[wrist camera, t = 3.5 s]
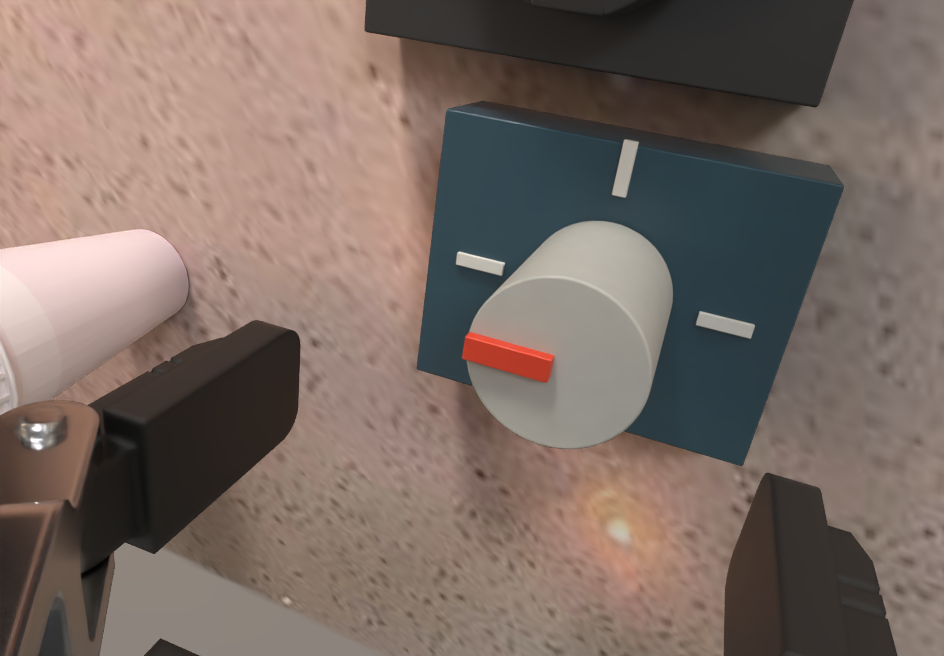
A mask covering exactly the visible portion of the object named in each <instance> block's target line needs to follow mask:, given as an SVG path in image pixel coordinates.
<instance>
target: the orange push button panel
mask: <svg viewBox="0 0 944 656" xmlns="http://www.w3.org/2000/svg"><path fill="white" fill-rule="evenodd" d="M853 1H854V0H366V15H365V31H366V32H369V33H375V34H381V35H387V36H393V37H399V38H405V39H411V40H417V41H423V42H429V43H434V44H440V45H446V46H452V47H458V48H464V49H470V50H476V51H482V52H488V53H494V54H500V55H506V56H512V57H518V58H524V59H530V60H536V61H542V62H548V63H554V64H560V65H566V66H572V67H578V68H583V69H589V70H595V71H601V72H607V73H613V74H619V75H625V76H631V77H637V78H643V79H649V80H655V81H661V82H667V83H673V84H679V85H685V86H691V87H697V88H703V89H709V90H715V91H721V92H727V93H733V94H738V95H744V96H750V97H756V98H762V99H768V100H774V101H780V102H786V103H792V104H798V105H804V106H810V107H818V106H819V104H820V101H821V98H822V95H823V92H824V89H825V85H826V82H827V79H828V76H829V73H830V70H831V67H832V64H833V61H834V58H835V55H836V52H837V49H838V46H839V43H840V40H841V37H842V34H843V31H844V28H845V25H846V22H847V19H848V16H849V13H850V10H851V7H852V4H853Z"/></svg>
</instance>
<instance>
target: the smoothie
mask: <svg viewBox="0 0 944 656" xmlns="http://www.w3.org/2000/svg"><path fill="white" fill-rule="evenodd" d="M188 291H189V282H188V276H187V272H186V268H185V266H184V263H183V261H182V259H181V258H180V256H179V254H178V253H177V251H176V250H175V249H174V248H173V246H172V245H171V244H170V243H169V242H168V241H167V240H165V239H164V238H163V237H161V236H160V235H158V234H156V233H154V232H152V231H149V230H144V229H135V230H128V231H121V232H115V233H108V234H101V235H94V236H88V237H81V238H74V239H68V240H61V241H54V242H47V243H41V244H34V245H27V246H20V247H14V248H7V249H0V415H2V414H3V413H5V412H7V411H9V410H12V409H14V408H16V407H20V406H23V405H26V404H30V403H34V402H41V401H49V400H52V399H53V398H55V397H56V396H57V395H59V394H60V393H62V392H63V391H65V390H66V389H67V388H69V387H70V386H72V385H73V384H75V383H76V382H78V381H79V380H80V379H82V378H83V377H85V376H86V375H88V374H89V373H90V372H92V371H93V370H95V369H96V368H98V367H99V366H101V365H102V364H103V363H105V362H106V361H108V360H109V359H111V358H112V357H113V356H115V355H116V354H118V353H119V352H121V351H122V350H124V349H125V348H126V347H128V346H129V345H131V344H132V343H134V342H135V341H136V340H138V339H139V338H141V337H142V336H144V335H145V334H147V333H148V332H149V331H151V330H152V329H154V328H155V327H157V326H158V325H159V324H161V323H162V322H164V321H165V320H167V319H168V318H170V317H171V316H172V315H174V314H175V313H177V312H178V311H179V310H180V309H181V308H182V307H183V306H184V304H185V302H186V300H187V296H188Z"/></svg>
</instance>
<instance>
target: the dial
mask: <svg viewBox="0 0 944 656" xmlns="http://www.w3.org/2000/svg"><path fill="white" fill-rule="evenodd" d="M672 303H673V286H672V280H671V276H670V273H669V270H668V267H667V265H666V263H665V261H664V259H663V258H662V256H661V255H660V253H659V252H658V251H657V249H656V248H655V247H654V246H653V245H652V244H651V243H650V242H649V241H648V240H647V239H646V238H644V237H643V236H642V235H640V234H639V233H637V232H635V231H634V230H632V229H630V228H628V227H625V226H623V225H620V224H616V223H613V222H607V221H585V222H580V223H575V224H572V225H569V226H567V227H564V228H562V229H561V230H559V231H557V232H555V233H554V234H553V235H551V236H550V237H549V238H548V239H547V240H546V241H545V242H544V243H543V244H542V245H541V246H540V247H539V248H538V249H537V250H536V251H535V252H534V253H533V254H532V255H531V256H530V257H529V258H528V259H527V260H526V261H525V262H524V263H523V264H522V265H521V266H520V267H519V268H518V269H517V270H516V271H515V272H514V273H513V274H512V275H511V276H510V277H509V278H508V279H507V280H506V281H505V282H504V283H503V284H502V285H501V286H500V287H499V288H498V290H497V291H496V292H495V293H494V294H493V295H492V296H491V297H490V298H489V299H488V300H487V301H486V302H485V303H484V304H483V306H482V307H481V308H480V310H479V311H478V313H477V314H476V316H475V318H474V320H473V322H472V325H471V328H470V330H469V333H468V334H467V335H466V336H465V341H464V348H463V355H462V359H464V360H467V366H468V371H469V375H470V378H471V381H472V384H473V387H474V389H475V391H476V393H477V395H478V397H479V398H480V400H481V402H482V403H483V405H484V406H485V407H486V409H487V410H488V411H489V412H490V414H491V415H492V416H493V417H494V418H495V419H496V420H497V421H498V422H500V423H501V424H502V425H503V426H505V427H506V428H507V429H508V430H510V431H512V432H513V433H515V434H516V435H518V436H520V437H522V438H524V439H526V440H528V441H531V442H533V443H536V444H539V445H543V446H546V447H551V448H558V449H580V448H587V447H591V446H595V445H598V444H601V443H604V442H606V441H608V440H610V439H612V438H614V437H616V436H617V435H619V434H620V433H622V432H623V431H624V430H626V429H627V428H628V427H629V426H630V425H631V424H632V423H633V422H634V421H635V419H636V418H637V417H638V416H639V414H640V413H641V411H642V409H643V407H644V406H645V404H646V402H647V399H648V396H649V393H650V390H651V386H652V382H653V378H654V374H655V370H656V367H657V363H658V359H659V355H660V351H661V347H662V343H663V340H664V336H665V332H666V328H667V324H668V320H669V316H670V312H671V308H672Z"/></svg>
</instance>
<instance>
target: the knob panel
mask: <svg viewBox="0 0 944 656" xmlns="http://www.w3.org/2000/svg"><path fill="white" fill-rule="evenodd" d="M843 189H844V185H843V184H842V182H841V181H840V179H839V178H838V177H837V175H836V174H835V172H834V171H833V170H832V168H831V167H830V166H829V165H824V164H819V163H814V162H808V161H803V160H798V159H792V158H787V157H782V156H776V155H771V154H766V153H760V152H755V151H750V150H744V149H739V148H733V147H728V146H723V145H717V144H712V143H707V142H701V141H696V140H691V139H685V138H680V137H675V136H669V135H664V134H658V133H653V132H648V131H642V130H637V129H632V128H626V127H621V126H616V125H610V124H605V123H600V122H594V121H589V120H583V119H578V118H573V117H567V116H562V115H557V114H551V113H546V112H541V111H535V110H530V109H525V108H519V107H514V106H509V105H503V104H498V103H492V102H487V101H480V102H476V103H471V104H467V105H463V106H458V107H454V108H450V109H447V110H446V118H445V127H444V135H443V144H442V153H441V161H440V170H439V179H438V187H437V196H436V205H435V214H434V222H433V231H432V240H431V248H430V257H429V266H428V274H427V283H426V292H425V301H424V309H423V318H422V327H421V335H420V344H419V353H418V361H417V369H418V370H421V371H424V372H427V373H431V374H434V375H438V376H441V377H444V378H448V379H451V380H454V381H458V382H461V383H464V384H468V385H471V386H473V384H472V381H471V378H470V375H469V371H468V366H467V360H464V359H462V355H463V348H464V341H465V336H466V335H467V334H468V333H469V330H470V328H471V325H472V322H473V320H474V318H475V316H476V314H477V313H478V311H479V310H480V308H481V307H482V306H483V304H484V303H485V302H486V301H487V300H488V299H489V298H490V297H491V296H492V295H493V294H494V293H495V292H496V291H497V290H498V288H499V287H500V286H501V285H502V284H503V283H504V282H505V281H506V280H507V279H508V278H509V277H510V276H511V275H512V274H513V273H514V272H515V271H516V270H517V269H518V268H519V267H520V266H521V265H522V264H523V263H524V262H525V261H526V260H527V259H528V258H529V257H530V256H531V255H532V254H533V253H534V252H535V251H536V250H537V249H538V248H539V247H540V246H541V245H542V244H543V243H544V242H545V241H546V240H547V239H548V238H549V237H550V236H551V235H553V234H554V233H555V232H557V231H559V230H561V229H562V228H564V227H567V226H569V225H572V224H575V223H580V222H585V221H607V222H613V223H616V224H620V225H623V226H625V227H628V228H630V229H632V230H634V231H635V232H637V233H639V234H640V235H642V236H643V237H644V238H646V239H647V240H648V241H649V242H650V243H651V244H652V245H653V246H654V247H655V248H656V249H657V251H658V252H659V253H660V255H661V256H662V258H663V259H664V261H665V263H666V265H667V267H668V270H669V273H670V276H671V280H672V286H673V303H672V308H671V312H670V316H669V320H668V324H667V328H666V332H665V336H664V340H663V343H662V347H661V351H660V355H659V359H658V363H657V367H656V370H655V374H654V378H653V382H652V386H651V390H650V393H649V396H648V399H647V402H646V404H645V406H644V407H643V409H642V411H641V413H640V414H639V416H638V417H637V418H636V419H635V421H634V422H633V423H632V424H631V425H630V426H629V427H628V428H627V429H626V430H624V431H625V432H629V433H632V434H635V435H639V436H642V437H646V438H649V439H652V440H656V441H659V442H662V443H666V444H669V445H672V446H676V447H679V448H682V449H686V450H689V451H692V452H696V453H699V454H703V455H706V456H709V457H713V458H716V459H719V460H723V461H726V462H729V463H733V464H736V465H739V466H743V464H744V462H745V459H746V456H747V453H748V451H749V448H750V445H751V442H752V440H753V437H754V434H755V431H756V429H757V426H758V423H759V420H760V418H761V415H762V412H763V409H764V407H765V404H766V401H767V398H768V396H769V393H770V390H771V387H772V385H773V382H774V379H775V376H776V374H777V371H778V368H779V365H780V363H781V360H782V357H783V354H784V352H785V349H786V346H787V343H788V341H789V338H790V335H791V332H792V330H793V327H794V324H795V321H796V319H797V316H798V313H799V310H800V308H801V305H802V302H803V299H804V297H805V294H806V291H807V288H808V286H809V283H810V280H811V277H812V275H813V272H814V269H815V266H816V264H817V261H818V258H819V255H820V253H821V250H822V247H823V244H824V242H825V239H826V236H827V233H828V231H829V228H830V225H831V222H832V220H833V217H834V214H835V211H836V209H837V206H838V203H839V200H840V198H841V195H842V192H843Z"/></svg>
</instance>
